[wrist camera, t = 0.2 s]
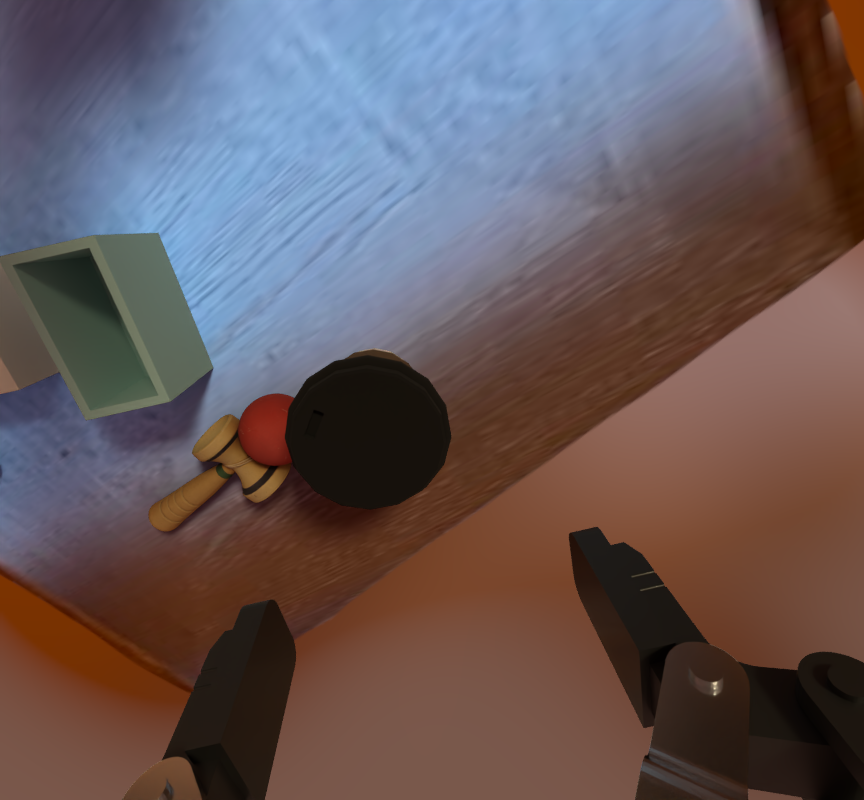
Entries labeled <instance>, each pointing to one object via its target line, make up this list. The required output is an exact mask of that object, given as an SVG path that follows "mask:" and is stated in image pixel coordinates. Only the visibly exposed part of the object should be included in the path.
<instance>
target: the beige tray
mask: <svg viewBox="0 0 864 800" xmlns="http://www.w3.org/2000/svg"><path fill="white" fill-rule="evenodd" d="M56 373H59V370H58V368H57V366H56V365H55V363H54V361H53V359H52V357H51V355H50V354H49V352H48V350H47V348H46V346H45V344H44V343H43V341H42V339H41V337H40V335H39V333H38V332H37V330H36V328H35V326H34V324H33V322H32V321H31V319H30V317H29V315H28V313H27V311H26V310H25V308H24V306H23V304H22V302H21V300H20V299H19V297H18V295H17V293H16V291H15V289H14V288H13V286H12V284H11V282H10V280H9V278H8V276H7V275H6V273H5V271H4V269H3V267H2V265H1V264H0V394H3V393H7V392H12V391H16V390H20V389H22V388H25V387H27V386H29V385H31V384H34V383H36V382H38V381H41V380H43V379H45V378H47V377H50V376H52V375H54V374H56Z"/></svg>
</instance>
